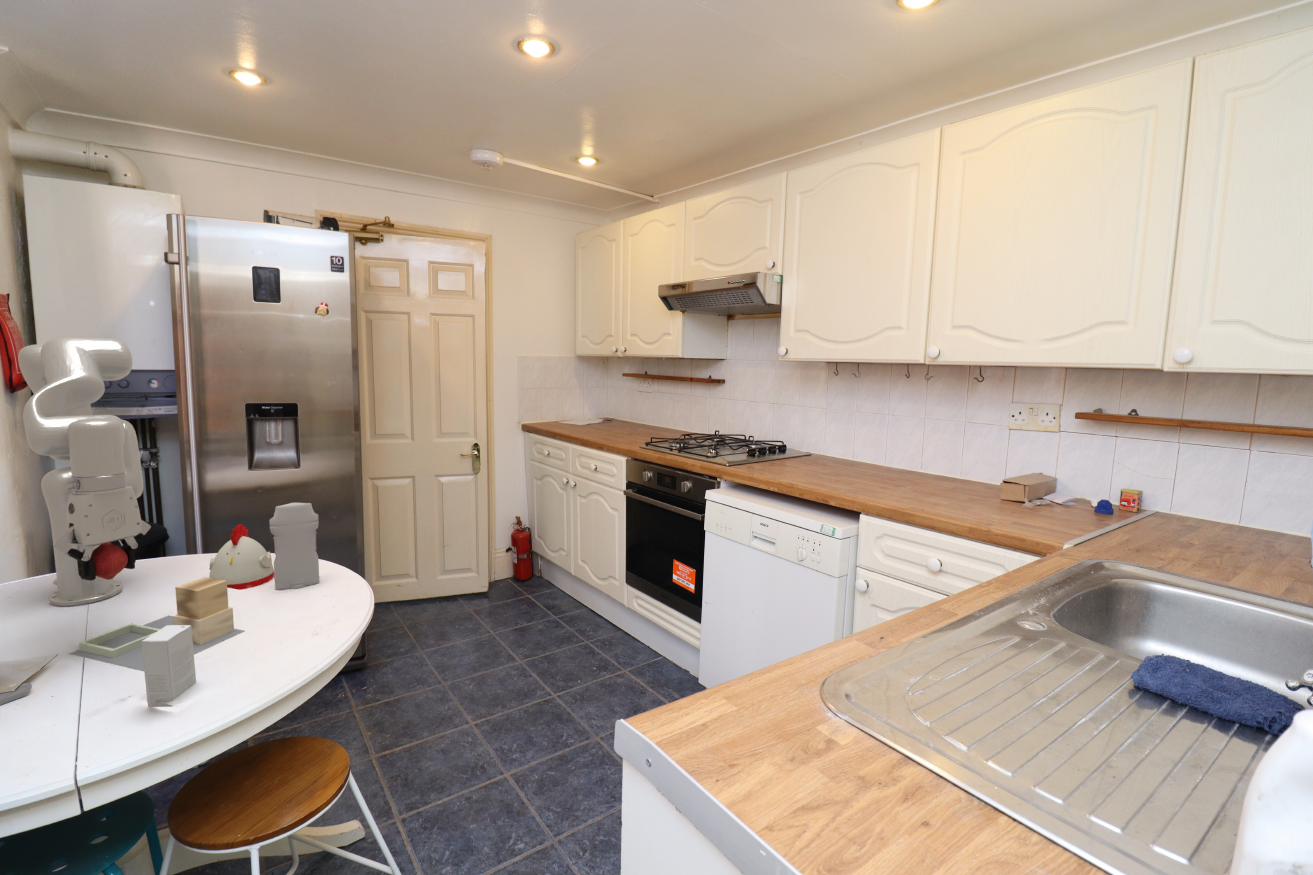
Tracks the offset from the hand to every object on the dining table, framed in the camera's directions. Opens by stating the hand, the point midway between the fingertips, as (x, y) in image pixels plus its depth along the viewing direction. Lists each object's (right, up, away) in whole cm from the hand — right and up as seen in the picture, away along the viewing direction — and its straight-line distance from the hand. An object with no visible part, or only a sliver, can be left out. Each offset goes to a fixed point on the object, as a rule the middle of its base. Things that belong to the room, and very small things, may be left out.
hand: (108, 572), depth 116 cm
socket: (+1, -15, +2) cm, 15 cm away
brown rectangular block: (+14, -14, +7) cm, 21 cm away
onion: (0, -2, 0) cm, 2 cm away
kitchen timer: (-1, -11, +39) cm, 41 cm away
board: (+7, -16, +4) cm, 18 cm away
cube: (+14, -9, +6) cm, 18 cm away
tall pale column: (+15, -12, +37) cm, 41 cm away
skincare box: (+23, -19, -13) cm, 33 cm away
